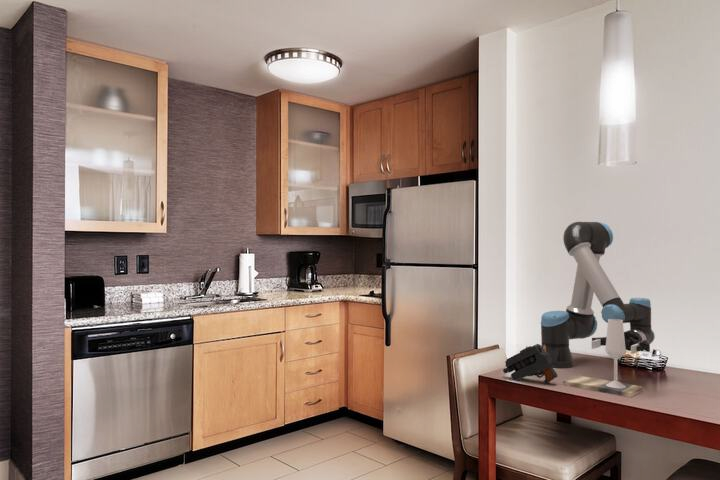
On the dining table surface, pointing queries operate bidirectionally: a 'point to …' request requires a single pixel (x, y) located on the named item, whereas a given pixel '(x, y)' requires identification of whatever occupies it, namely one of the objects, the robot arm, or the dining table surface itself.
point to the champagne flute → (615, 347)
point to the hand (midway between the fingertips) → (611, 347)
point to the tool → (531, 364)
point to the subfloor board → (601, 386)
